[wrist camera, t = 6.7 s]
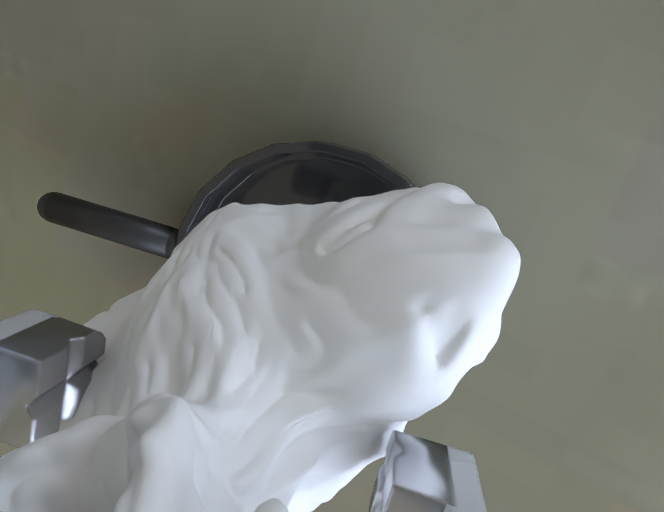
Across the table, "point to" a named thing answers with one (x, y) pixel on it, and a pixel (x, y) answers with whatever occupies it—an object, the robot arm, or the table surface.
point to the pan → (294, 179)
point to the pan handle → (108, 223)
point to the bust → (275, 356)
